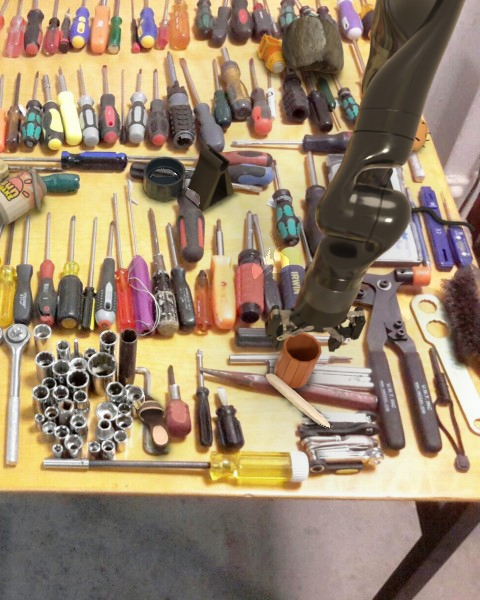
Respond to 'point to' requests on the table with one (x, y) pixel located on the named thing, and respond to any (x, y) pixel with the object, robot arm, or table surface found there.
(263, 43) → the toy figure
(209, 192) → the phone stand
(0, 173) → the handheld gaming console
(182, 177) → the big pot
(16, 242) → the table surface
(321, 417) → the light wooden rod
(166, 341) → the table surface
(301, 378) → the small pot
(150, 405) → the heeled mule
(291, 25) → the stone
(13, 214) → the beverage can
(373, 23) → the robot arm
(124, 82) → the table surface
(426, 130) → the toy
